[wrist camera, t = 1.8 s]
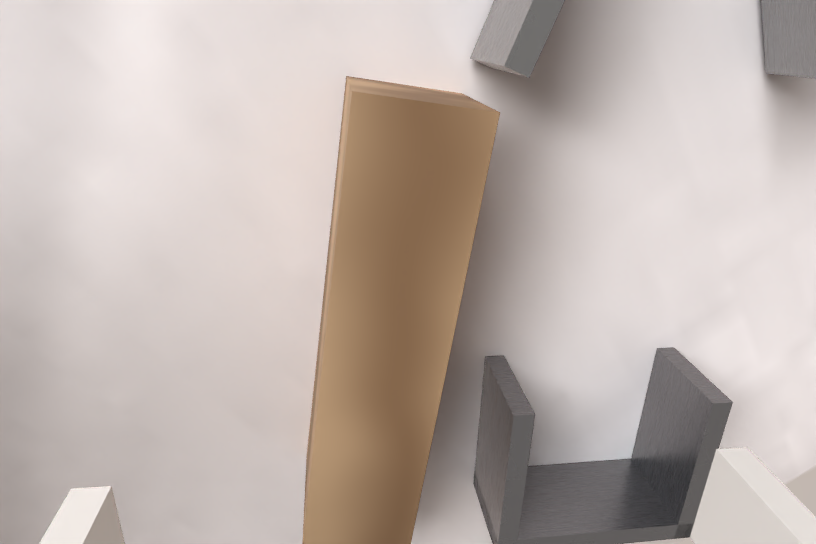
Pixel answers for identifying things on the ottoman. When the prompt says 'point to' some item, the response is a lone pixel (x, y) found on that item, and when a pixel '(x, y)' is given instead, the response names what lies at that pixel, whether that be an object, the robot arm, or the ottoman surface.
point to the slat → (390, 302)
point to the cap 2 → (600, 465)
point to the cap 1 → (541, 3)
